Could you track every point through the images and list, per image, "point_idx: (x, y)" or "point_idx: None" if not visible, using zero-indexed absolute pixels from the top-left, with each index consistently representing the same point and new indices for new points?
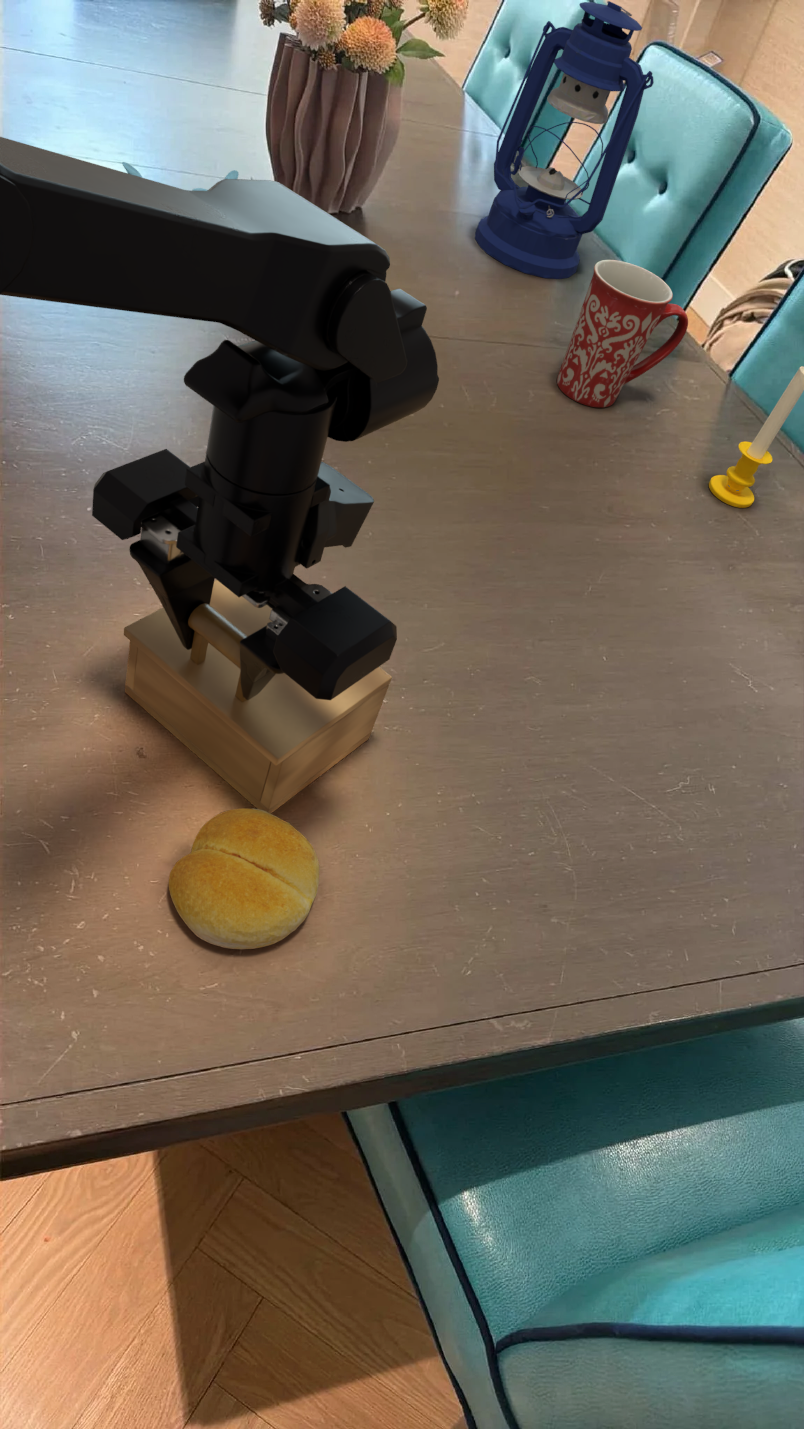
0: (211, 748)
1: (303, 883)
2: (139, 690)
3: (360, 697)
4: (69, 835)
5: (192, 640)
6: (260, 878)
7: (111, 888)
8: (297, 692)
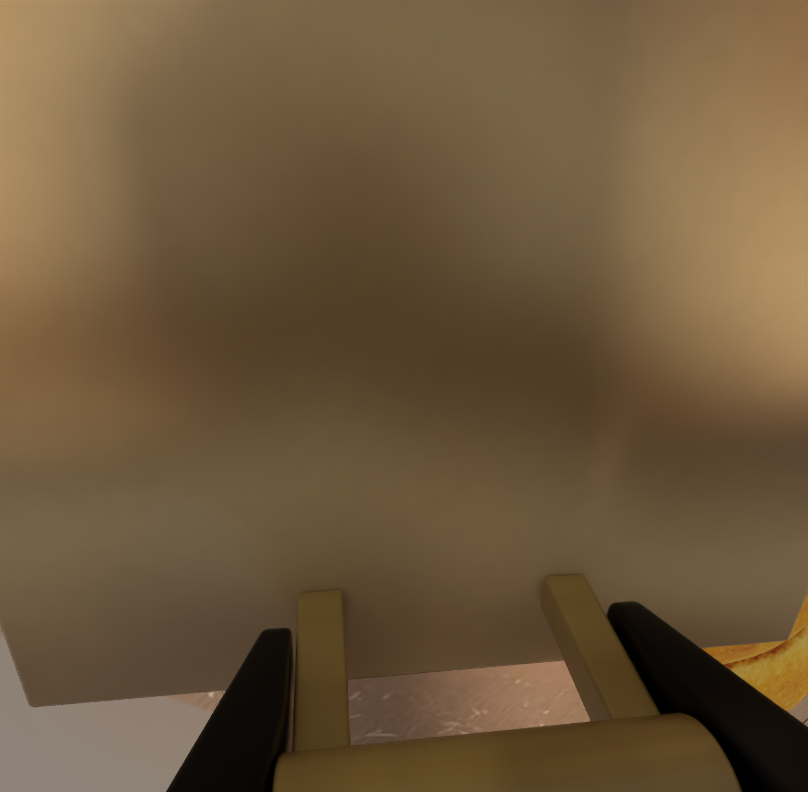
0: None
1: None
2: None
3: None
4: (390, 705)
5: (292, 704)
6: (793, 670)
7: (514, 704)
8: (707, 421)
